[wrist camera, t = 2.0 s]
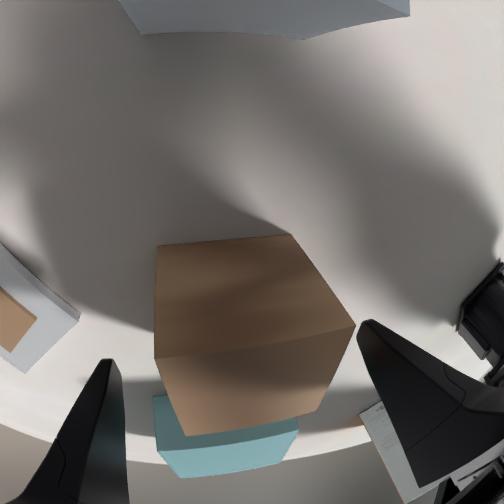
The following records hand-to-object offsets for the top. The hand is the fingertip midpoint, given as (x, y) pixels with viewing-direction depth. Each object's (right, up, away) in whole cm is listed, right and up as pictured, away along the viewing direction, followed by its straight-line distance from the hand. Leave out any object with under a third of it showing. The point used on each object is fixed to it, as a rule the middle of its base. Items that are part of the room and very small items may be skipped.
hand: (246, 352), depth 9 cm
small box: (+16, -15, +19) cm, 29 cm away
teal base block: (-2, -8, +9) cm, 12 cm away
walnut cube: (-1, +2, +3) cm, 3 cm away
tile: (-12, +1, 0) cm, 12 cm away
